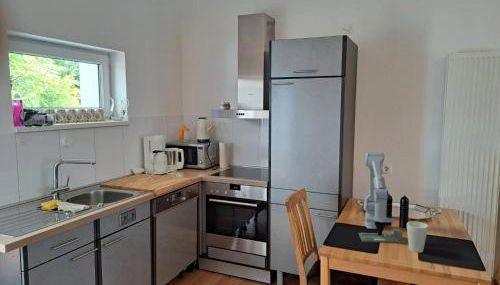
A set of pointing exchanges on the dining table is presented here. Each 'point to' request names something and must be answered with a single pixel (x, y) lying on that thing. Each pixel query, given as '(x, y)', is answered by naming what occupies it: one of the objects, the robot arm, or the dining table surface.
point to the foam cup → (416, 235)
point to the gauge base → (374, 237)
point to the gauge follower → (385, 234)
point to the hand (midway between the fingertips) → (379, 235)
